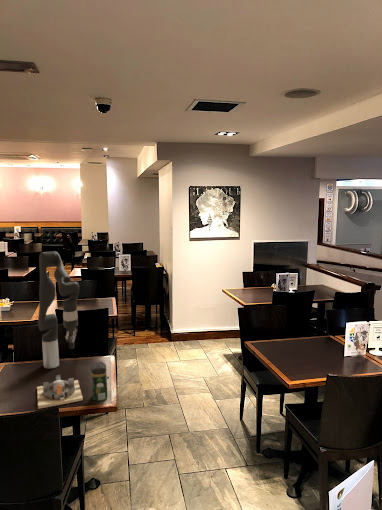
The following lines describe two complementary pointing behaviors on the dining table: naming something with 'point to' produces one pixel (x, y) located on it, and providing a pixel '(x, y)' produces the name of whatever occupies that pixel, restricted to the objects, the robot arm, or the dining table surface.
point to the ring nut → (58, 389)
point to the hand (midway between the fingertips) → (71, 348)
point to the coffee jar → (99, 381)
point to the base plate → (73, 397)
